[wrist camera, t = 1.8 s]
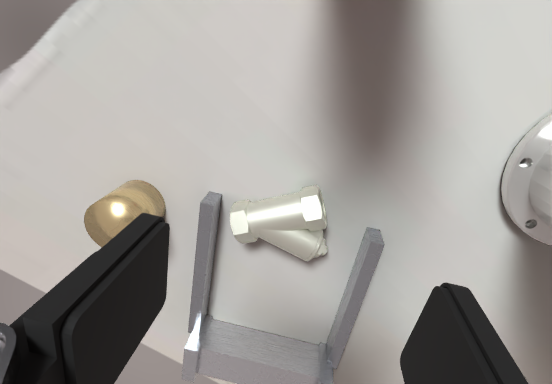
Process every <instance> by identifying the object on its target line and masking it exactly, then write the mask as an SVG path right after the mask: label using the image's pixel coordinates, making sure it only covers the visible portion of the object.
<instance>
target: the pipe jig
mask: <svg viewBox="0 0 552 384" xmlns="http://www.w3.org/2000/svg"><path fill="white" fill-rule="evenodd" d="M221 196H222V194H218V193H213V192H209V193H208V194H207V195H206V197H205V198H204V199H203V200H202V201H201V203H200V212H199V223H198V233H197V244H196V254H195V265H194V275H193V286H192V296H191V307H190V317H189V328H188V332H189V333H191V336H190V338H189V340H188V342H187V344H186V346H185V348H184V359H183V370H182V379H183V380H186V381H191V382H195V379H196V376H197V374H202V375H206V376H209V377H213V378H217V379H221V380H225V381H229V382H233V383H237V384H333V368H334V369H337V366H338V364H339V361H340V359H341V356H342V353H343V351H344V348H345V346H346V343H347V341H348V338H349V335H350V333H351V330H352V328H353V325H354V322H355V320H356V317H357V315H358V312H359V310H360V307H361V304H362V302H363V299H364V297H365V294H366V291H367V289H368V286H369V284H370V281H371V279H372V276H373V273H374V271H375V268H376V266H377V263H378V260H379V258H380V255H381V253H382V250H383V247H384V242H383V239H382V235H381V232H380V230H377V229H372V228H368V227H367V229H366V232H365V235H364V237H363V240H362V243H361V246H360V249H359V252H358V255H357V257H356V260H355V263H354V266H353V269H352V272H351V275H350V277H349V280H348V283H347V286H346V289H345V292H344V295H343V297H342V300H341V303H340V306H339V309H338V312H337V315H336V317H335V320H334V323H333V326H332V329H331V332H330V335H329V337H328V340H327V343H326V344H322V343H320V344H319V345H316V344H311V343H307V342H303V341H299V340H295V339H291V338H287V337H283V336H279V335H275V334H271V333H267V332H263V331H259V330H255V329H251V328H246V327H242V326H238V325H234V324H230V323H226V322H222V321H218V320H214V319H212V316H208V315H207V308H208V300H209V292H210V284H211V276H212V268H213V260H214V252H215V244H216V236H217V228H218V220H219V212H220V204H221Z"/></svg>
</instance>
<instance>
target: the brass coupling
mask: <svg viewBox="0 0 552 384" xmlns="http://www.w3.org/2000/svg"><path fill="white" fill-rule="evenodd" d="M141 213H147V214H152V215H156V216H160V217H163V216H164V213H165V202H164V199H163V197H162V195H161V194H160V192H159V191H158V190H157V189H156V188H155V187H154V186H152V185H151V184H149V183H147V182H144V181H140V180H132V181H128V182H126V183H125V184H123V185H122V186H120V187H118V188H117V189H115V190H114V191H112V192H111V193H109V194H108V195H106V196H105V197H103V198H102V199H100V200H99V201H97V202H95V203H94V204H92V205H91V206H90V207H89V208H88V209H87V211H86V213H85V216H84V223H85V227H86V230H87V232H88V234H89V235H90V237H91V238H92V239H93V240H94V241H95V242H96V243H97V244H98V245H99V246H101V247H103V246H104V245H106V244H107V243H108V242H109V241H110V240H111V239H112V238H114V237H115V236H116V235H117V234H118V233H119V232H120V231H122V230H123V229H124V228H125V227H126V226H127V225H128V224H130V223H131V222H132V221H133V220H134V219H135V218H136V217H138V216H139V215H140V214H141Z"/></svg>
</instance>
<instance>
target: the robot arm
mask: <svg viewBox="0 0 552 384" xmlns="http://www.w3.org/2000/svg"><path fill="white" fill-rule="evenodd" d="M522 159H523V160H522ZM501 192H502V201H503V204H504V206H505V209H506V212H507V214H508V215H509V217H510V218H511V219H512V221H513V222H514V223H515V224H516V225H517V226H518V227H519V228H520V229H521V230H522V231H523V232H525V233H526V234H528V235H529V236H530V237H532V238H533V239H535V240H537V241H540V242H542V243H545V244H547V245H551V246H552V113H551V114H550V115H549V116H547V117H546V118H544V119H543V120H541V121H540V122H539V123H538V124H537V125H536V126H534V127H533V128H532V129H531V130H530V131H529V132H528V133H527V134H526V135H525V136H524V137H523V139H522V140H521V141H520V142H519V144H518V145H517V146H516V147H515V149H514V151H513V153H512V154H511V156H510V158H509V160H508V162H507V165H506V168H505V170H504V173H503V178H502V186H501ZM169 230H170V228H169V224H168V223H165V221H164V218H163V217H160V216H156V215H152V214H147V213H141V214H140V215H139V216H138V217H136V218H135V219H134V220H133V221H132V222H131V223H130V224H128V225H127V226H126V227H125V228H124V229H123V230H122V231H120V232H119V233H118V234H117V235H116V236H115V237H114V238H112V239H111V240H110V241H109V242H108V243H107V244H106V245H104V246H103V247H102V248H101V249H100V250H99V251H97V252H95V253H94V254H92V255H91V256H90V257H88V258H87V259H86V260H85V261H84V262H83V263H81V264H80V265H79V266H78V267H77V268H76V269H74V270H73V271H72V272H71V273H70V274H69V275H68V276H66V277H65V278H64V279H63V280H62V281H61V282H59V283H58V284H57V285H56V286H55V287H54V288H53V289H51V290H50V291H49V292H48V293H47V294H46V295H45V296H44V297H42V298H41V299H40V300H39V301H37V302H36V303H35V304H34V305H33V306H32V307H31V308H29V309H28V310H27V311H26V312H25V313H24V314H22V315H21V316H20V317H19V318H18V319H17V320H16V321H14V322H13V323H12V324H11V325H10V326H8V325H6V324H5V323H0V384H114V383H115V381H116V380H117V378H118V376H119V375H120V373H121V372H122V370H123V369H124V367H125V365H126V364H127V362H128V361H129V359H130V357H131V356H132V354H133V353H134V351H135V350H136V348H137V347H138V345H139V343H140V342H141V340H142V339H143V337H144V336H145V334H146V332H147V331H148V329H149V328H150V326H151V324H152V323H153V321H154V320H155V318H156V317H157V315H158V313H159V312H160V310H161V309H162V307H163V305H164V302H165V299H166V290H167V270H168V250H169ZM400 366H401V370H402V374H403V378H404V382H405V384H528V382H527V381H526V379H525V378H524V376H523V374H522V373H521V371H520V369H519V368H518V366H517V365H516V363H515V361H514V360H513V358H512V357H511V355H510V353H509V352H508V350H507V349H506V347H505V345H504V344H503V342H502V341H501V339H500V337H499V336H498V334H497V333H496V331H495V329H494V328H493V326H492V325H491V323H490V321H489V320H488V318H487V317H486V315H485V313H484V312H483V310H482V308H481V307H480V305H479V304H478V302H477V300H476V299H475V297H474V296H473V294H472V292H471V291H470V290H469V289H468V288H466V287H463V286H458V285H454V284H450V283H443V284H442V285H441V286H440V287H439V286H436V287H434V289H433V290H432V292H431V294H430V296H429V298H428V300H427V302H426V304H425V306H424V308H423V311H422V313H421V315H420V317H419V319H418V321H417V323H416V325H415V327H414V329H413V331H412V333H411V335H410V337H409V339H408V341H407V343H406V345H405V347H404V349H403V351H402V354H401V358H400Z"/></svg>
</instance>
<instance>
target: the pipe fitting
mask: <svg viewBox="0 0 552 384" xmlns="http://www.w3.org/2000/svg"><path fill="white" fill-rule="evenodd" d="M230 224H231V229H232V232H233V234H234V236H235V238H236V239H237V240H238V241H239V242H240V243H242V244H245V243H250V242H256V241H257V239H258V238H261V239H263V240H265V241H267V242H269V243H271V244H273V245H275V246H277V247H279V248H281V249H283V250H285V251H287V252H289V253H291V254H293V255H295V256H297V257H299V258H300V259H302V260H304V261H310V260H311V259H312V258H313V257H315V258H316V257H319V256H320V255H322V256H323V255H325V254H326V252H327V250H328V247H327V246H326V245H325V244H326V242H325V239H324V238H323V230H322V229H326V226H327V218H326V211H325V206H324V202H323V198H322V194H321V191H320V188H319V187H318V186H317V185H313V186H308V187H303V188H302V189H301V191H300V192H297V193H292V194H287V195H282V196H277V197H273V198H268V199H263V200H259V201H254V202H251V201H250V200H248V199H247V200H243V201H238V202H235V203H234V204H233V205H232V207H231V209H230Z"/></svg>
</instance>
